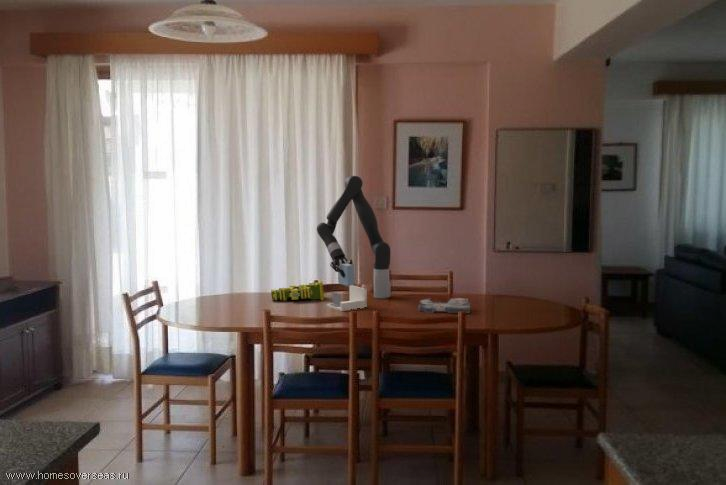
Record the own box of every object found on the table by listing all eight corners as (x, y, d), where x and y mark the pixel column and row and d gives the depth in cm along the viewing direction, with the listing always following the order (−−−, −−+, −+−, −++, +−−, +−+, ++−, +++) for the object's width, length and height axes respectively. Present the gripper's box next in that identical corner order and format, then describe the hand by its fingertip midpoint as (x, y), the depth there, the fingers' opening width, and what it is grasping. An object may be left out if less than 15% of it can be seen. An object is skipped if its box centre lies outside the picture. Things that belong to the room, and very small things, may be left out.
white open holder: (351, 302, 351) (351, 285, 350) (366, 307, 338) (366, 289, 337) (327, 306, 343) (326, 288, 342) (341, 311, 329) (341, 292, 328)
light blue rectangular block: (344, 282, 344) (343, 262, 343) (354, 285, 336) (353, 264, 334) (338, 283, 342) (337, 263, 340) (347, 285, 333) (347, 265, 332)
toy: (270, 284, 367) (320, 279, 372) (272, 301, 369) (322, 295, 373) (270, 289, 351) (323, 283, 355) (272, 307, 352) (324, 301, 356)
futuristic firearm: (471, 304, 339) (469, 316, 320) (420, 304, 346) (415, 315, 326) (471, 295, 338) (468, 305, 319) (420, 295, 345) (415, 305, 325)
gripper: (327, 249, 339) (339, 273, 330) (349, 246, 347) (361, 270, 338) (322, 257, 344) (334, 282, 335) (344, 255, 352) (356, 278, 343)
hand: (347, 276), depth 337 cm, fingers closed on light blue rectangular block, 4 cm apart
